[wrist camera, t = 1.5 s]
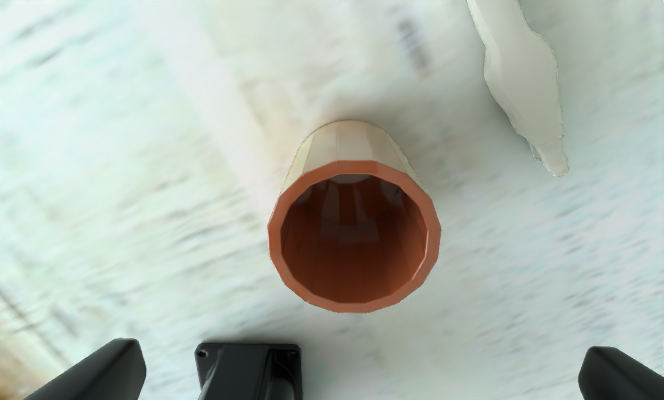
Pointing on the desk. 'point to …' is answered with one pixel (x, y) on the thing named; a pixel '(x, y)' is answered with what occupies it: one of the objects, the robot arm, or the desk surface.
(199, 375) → the robot arm
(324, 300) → the cup
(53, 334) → the desk surface
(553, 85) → the white elongated piece
